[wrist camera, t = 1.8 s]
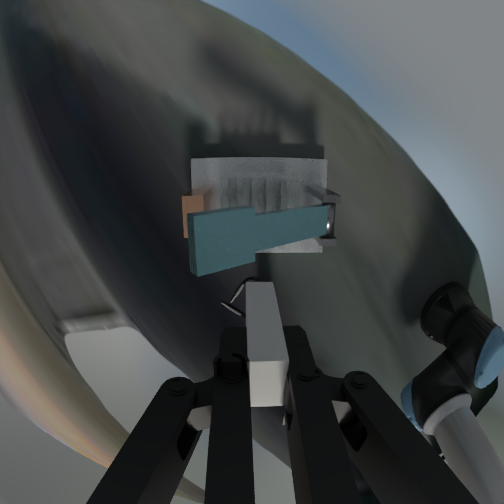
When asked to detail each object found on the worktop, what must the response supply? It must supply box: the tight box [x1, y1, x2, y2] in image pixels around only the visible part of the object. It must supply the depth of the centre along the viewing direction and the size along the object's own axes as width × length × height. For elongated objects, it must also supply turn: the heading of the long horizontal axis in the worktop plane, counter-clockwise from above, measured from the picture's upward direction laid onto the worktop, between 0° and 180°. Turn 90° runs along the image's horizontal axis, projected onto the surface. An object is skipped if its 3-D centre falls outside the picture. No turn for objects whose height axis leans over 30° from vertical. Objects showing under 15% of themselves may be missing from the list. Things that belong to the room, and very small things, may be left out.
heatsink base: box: [182, 157, 341, 253], centre depth 42 cm, size 22×16×12 cm
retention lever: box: [187, 202, 336, 277], centre depth 33 cm, size 21×6×2 cm
